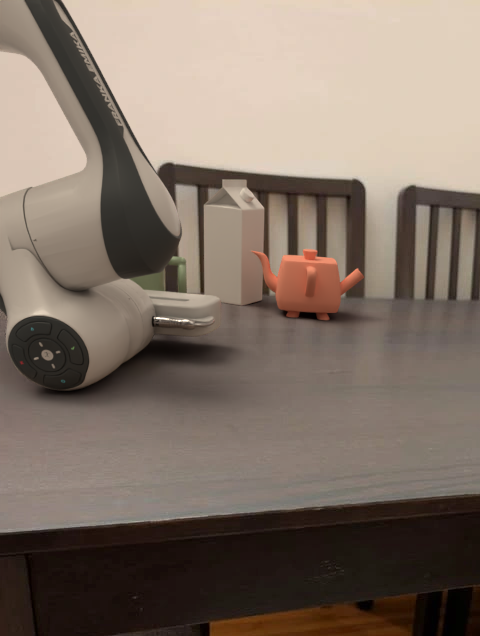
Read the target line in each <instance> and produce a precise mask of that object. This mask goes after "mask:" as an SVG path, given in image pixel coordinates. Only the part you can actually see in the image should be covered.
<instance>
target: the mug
mask: <svg viewBox="0 0 480 636" xmlns="http://www.w3.org/2000/svg"><path fill="white" fill-rule="evenodd" d="M167 266H175V267H176V266H177V293H188V285H187V284H188V283H187V280H188V278H187V274H188V273H187V259H186V258H185V257H183V256H175V255H173V257H172V259H171V260H170V262H169V263H168V265H167ZM130 280H132V281H133V282H135V283H136V284H138V285H139V286H140V287H141V288H142V289H144V290H155V291H166V292H167V288H166V268H165V269H164V270H163V271H162V272H160V273H155V274H150V275H145V276H140V277H135V278H130Z"/></svg>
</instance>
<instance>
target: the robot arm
mask: <svg viewBox="0 0 480 636" xmlns="http://www.w3.org/2000/svg"><path fill="white" fill-rule="evenodd" d="M0 52H1V53H8V54H9V53H10V54H15V55H19V56H23V57H26V58H27V59H29V61H31V63H33V64H34V66H36V68H37V69H38V70H39V71H40V73H41V75H42V76H43V78H44V81H45V82H46V84H47V85H48V87H49V89H50V91H51V92H52V96H54V98H55V100H56V102H57V104H58V105H59V108H60V110H61V112H63V115H64V117H65V119H66V121H67V122H68V124H69V126H70V128H71V130H72V131H73V133H74V135H75V138H76V139H77V141H78V142H79V144H80V146H81V148H82V150H83V152H84V154H85V157H86V164H85V167H84V168H83V169H82V170H80V171H78V172H75V173H72V174H70V175H66V176H64V177H61V178H57V179H54V180H52V181H49V182H46V183H42V184H38V185H36V186H28V187H26V188H23V189H20V190H17V191H14V192H11V193H8V194H6V195H3V196H0V311H1V312H2V313H3V314H4V316H6V330H5V346H6V351H7V354H8V356H9V358H10V361H11V362H12V364H13V366H14V368H16V370H17V371H18V372H19V373H20V374H21V375H22V376H23V377H24V378H26V379H27V380H29V381H30V382H32V383H33V384H35V385H38V386H40V387H43V388H45V389H50V390H53V391H60V392H61V391H62V392H63V391H64V392H65V391H66V392H67V391H68V392H69V391H75V390H80V389H83V388H86V387H89V386H92V385H93V384H96V383H97V382H99V381H101V380H102V379H104V378H105V377H107V376H109V375H110V374H112V373H113V372H114V371H116V370H117V369H118V368H119V367H120V366H121V365H122V364H124V363H126V362H128V361H129V360H130V359H132V358H133V357H134V356H136V355H138V354H139V353H140V352H141V351H142V350H144V349H145V348H146V347H147V346H148V345H149V344H150V342H151V341H152V339H153V337H154V335H163V336H175V337H185V338H186V337H188V338H194V337H195V338H196V337H202V336H206V335H208V334H210V333H212V332H214V331H216V330H217V329H219V328H220V327H221V325H222V302H221V300H220V299H219V298H218V297H216V296H211V295H204V294H198V293H188V292H187V293H178V291H177V292H176V291H167V290H166V291H155V290H144V289H142V288H141V287H140V286H139V285H138V284H136V283H135V282H133V281H132V280H130V278H135V277H140V276H145V275H150V274H155V273H160V272H162V271H163V270H164V269H165V270H166V267H167V266H169V265H168V263H169V262H170V260H171V259H172V257H173V256H175V253H176V252H177V249H178V247H179V244H180V242H181V239H182V237H183V229H182V222H181V219H180V215H179V212H178V210H177V206H176V203H175V201H174V200H173V197H172V196H171V194H170V192H169V191H168V188H167V187H166V186H165V184H164V182H163V181H162V179H161V177H160V176H159V174H158V172H157V171H156V169H155V168H154V166H153V164H152V163H151V161H150V160H149V158H148V156H147V155H146V153H145V151H144V150H143V148H142V147H141V145H140V143H139V141H138V139H137V137H136V135H135V133H134V132H133V129H132V128H131V126H130V124H129V122H128V120H127V118H126V116H125V114H124V113H123V110H122V109H121V107H120V105H119V103H118V101H117V98H116V97H115V95H114V94H113V92H112V90H111V87H110V85H109V84H108V81H107V80H106V78H105V76H104V74H103V73H102V70H101V69H100V66H99V64H98V63H97V61H96V59H95V57H94V55H93V53H92V51H91V49H90V48H89V46H88V44H87V42H86V41H85V38H84V37H83V35H82V33H81V31H80V30H79V28H78V25H77V24H76V23H75V20H74V18H73V17H72V15H71V13H70V12H69V10H68V8H67V7H66V5H65V3H64V1H63V0H0Z"/></svg>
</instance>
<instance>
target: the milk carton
mask: <svg viewBox="0 0 480 636" xmlns="http://www.w3.org/2000/svg"><path fill="white" fill-rule="evenodd" d="M221 180H222V181H221V183H222V185H221V187H220V189H219V190H218V191H217V192H216V193H215V194H213V195H212V196H211V197H210V198H209V199H208V200H207V201H206V202H205V203H204V204H203V255H204V256H203V258H204V259H203V281H204V282H203V283H204V285H203V286H204V288H203V291H204V293H203V295H211V296H216V297H218V298H219V299H220V300H221V304H229V305H234V306H245V305H249V304H252V303H257V302H261V301H263V283H264V281H263V280H264V275H263V268H262V264H261V261H260V259H259V258H258V256H257V255H255V254H254V253H253V252H252V251H257V252H261V253H264V243H265V242H264V241H265V207H264V206H263V205H262V203H261V202H260V201H259V200H258V198H257V197H256V196H255V195H254V193H253V192H252V191H251V190H250V189H249V188H248V186H247V183H248V180H247V179H221Z"/></svg>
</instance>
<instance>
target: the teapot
mask: <svg viewBox="0 0 480 636" xmlns="http://www.w3.org/2000/svg"><path fill="white" fill-rule="evenodd" d="M252 252H253V253H254V254H255V255H257V256H258V258H259V259H260V261H261V264H262V268H263V280H264V282H265V285H266V286H267V288H268V289H269V290H270V291H272V292H273V293H274V296H275V300H276V305H277V308H278V309H279V310H281V311H285V312H287V313H286V314H285V316H286V317H287V318H299V316H300V313H315V315H316V319H317V320H319V321H329V320H330V317H329V314H335V313H338V311H339V309H340V306H341V301H342V296H343V295H344V294H345V293H347V292H348V291H349V290H350V289H352V288H353V287H354V286H356V285H357V284H358V283H359V282H361V281H362V280H363V279H365V276H364V274H363V273H362V271H360V269H359V267H357V268H356V269H354V270H353V271H352V272H351V273H350V274H348V275H347V276H346V277H345V278H344V279H342V280H341V279H340V278H341V277H340V271H339V266H338V265H339V264H338V262H337V260H336V259H335V258H334V257H327V256H326V257H324V256H318V250H317V249H313V248H304V249H302V254H303V255H300V254H299V255H298V254H283V255H282V258H281V260H280V264H279V268H278V273H277V276H276V275H275V274H274V273H273V271H272V269H271V264H270V260H269V258H268V255H267V254H265V253H264V252H263V253H261V252H257V251H252Z"/></svg>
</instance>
